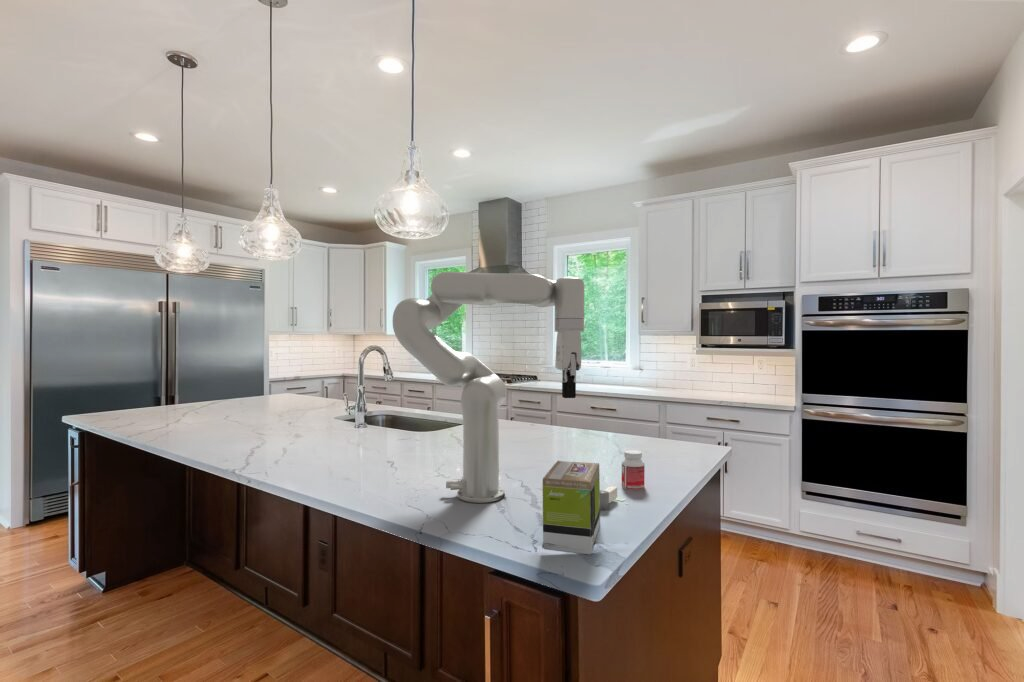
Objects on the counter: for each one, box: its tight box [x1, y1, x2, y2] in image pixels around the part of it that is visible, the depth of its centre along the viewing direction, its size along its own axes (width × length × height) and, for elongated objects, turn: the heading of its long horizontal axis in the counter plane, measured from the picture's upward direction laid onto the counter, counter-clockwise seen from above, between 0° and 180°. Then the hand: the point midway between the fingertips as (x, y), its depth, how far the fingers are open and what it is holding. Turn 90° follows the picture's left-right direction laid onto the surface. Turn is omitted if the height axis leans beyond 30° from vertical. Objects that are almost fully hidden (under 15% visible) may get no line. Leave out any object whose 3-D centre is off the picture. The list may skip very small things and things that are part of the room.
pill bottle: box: [621, 449, 646, 491], centre depth 139 cm, size 6×6×11 cm
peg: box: [600, 485, 618, 511], centre depth 123 cm, size 9×3×4 cm, turn 147°
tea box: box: [542, 460, 601, 556], centre depth 106 cm, size 15×10×15 cm, turn 163°
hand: (568, 397), depth 129 cm, fingers closed
